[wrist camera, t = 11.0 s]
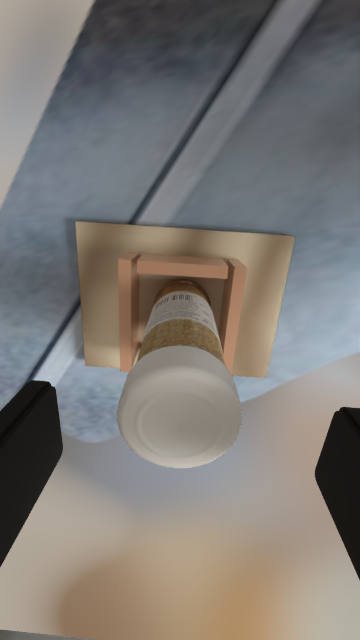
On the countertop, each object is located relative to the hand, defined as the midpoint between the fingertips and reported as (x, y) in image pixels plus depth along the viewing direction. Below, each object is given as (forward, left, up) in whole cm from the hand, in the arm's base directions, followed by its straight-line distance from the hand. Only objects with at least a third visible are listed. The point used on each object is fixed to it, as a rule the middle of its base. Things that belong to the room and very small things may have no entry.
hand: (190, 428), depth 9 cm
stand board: (+1, 0, -15) cm, 15 cm away
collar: (+1, 0, -14) cm, 14 cm away
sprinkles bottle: (0, 0, -14) cm, 14 cm away
